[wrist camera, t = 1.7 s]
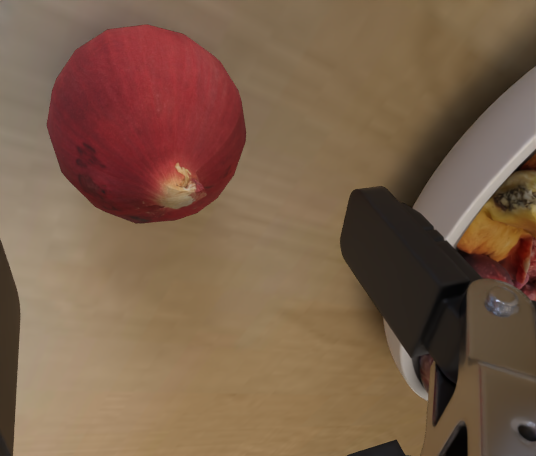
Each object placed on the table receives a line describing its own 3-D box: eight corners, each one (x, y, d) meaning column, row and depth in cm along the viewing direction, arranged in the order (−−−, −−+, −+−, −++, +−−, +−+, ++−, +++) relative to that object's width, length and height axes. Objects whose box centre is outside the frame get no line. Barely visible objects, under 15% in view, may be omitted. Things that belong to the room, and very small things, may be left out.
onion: (157, 172, 21) (202, 312, 15) (17, 104, 17) (3, 253, 11) (240, 58, 19) (328, 167, 13) (102, -45, 15) (138, 43, 9)
